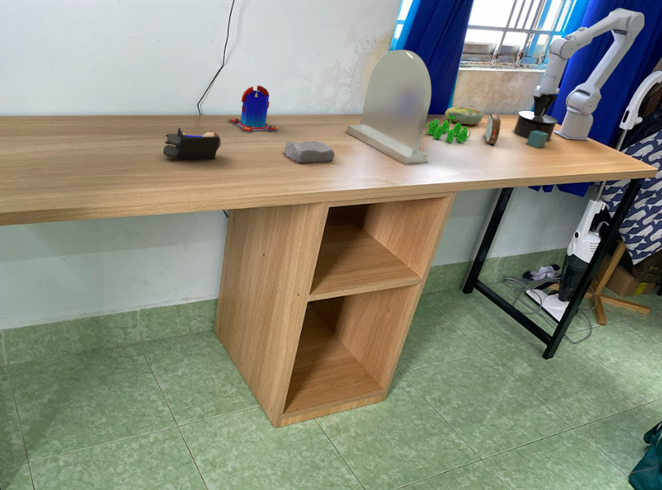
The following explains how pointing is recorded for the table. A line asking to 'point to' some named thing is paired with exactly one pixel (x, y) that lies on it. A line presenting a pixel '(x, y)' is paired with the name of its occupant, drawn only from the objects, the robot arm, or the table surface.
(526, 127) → the black round container
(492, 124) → the tin
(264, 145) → the table surface
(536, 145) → the block
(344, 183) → the table surface
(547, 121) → the lid
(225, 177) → the table surface
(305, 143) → the stone block
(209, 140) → the character figurine
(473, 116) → the cell model
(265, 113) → the fantasy tower
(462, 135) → the green bumpy cluster
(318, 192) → the table surface
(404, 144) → the award
